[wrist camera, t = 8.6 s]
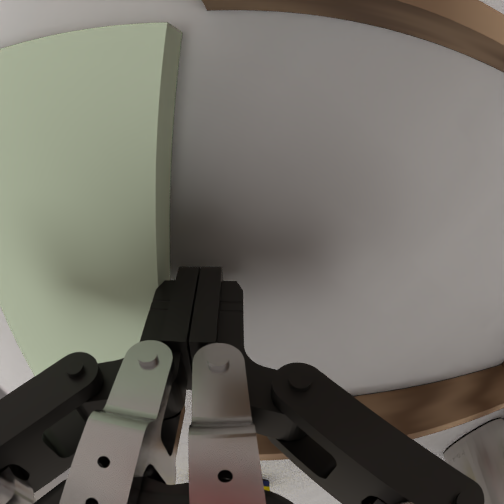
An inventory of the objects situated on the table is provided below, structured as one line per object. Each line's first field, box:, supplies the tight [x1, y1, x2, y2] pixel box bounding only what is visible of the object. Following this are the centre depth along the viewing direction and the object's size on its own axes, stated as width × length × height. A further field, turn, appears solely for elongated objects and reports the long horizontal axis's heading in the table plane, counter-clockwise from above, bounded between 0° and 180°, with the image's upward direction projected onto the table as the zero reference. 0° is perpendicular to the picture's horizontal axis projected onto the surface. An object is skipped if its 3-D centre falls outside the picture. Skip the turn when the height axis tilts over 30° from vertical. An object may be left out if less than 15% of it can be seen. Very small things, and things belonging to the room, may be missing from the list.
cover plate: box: [0, 22, 182, 376], centre depth 11 cm, size 8×16×2 cm, turn 173°
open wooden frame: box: [202, 0, 504, 460], centre depth 11 cm, size 23×22×4 cm
